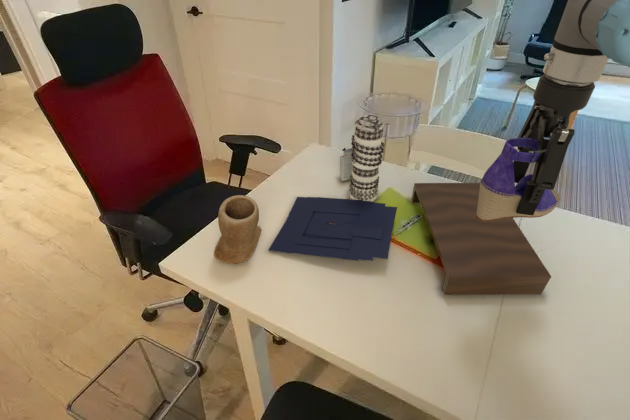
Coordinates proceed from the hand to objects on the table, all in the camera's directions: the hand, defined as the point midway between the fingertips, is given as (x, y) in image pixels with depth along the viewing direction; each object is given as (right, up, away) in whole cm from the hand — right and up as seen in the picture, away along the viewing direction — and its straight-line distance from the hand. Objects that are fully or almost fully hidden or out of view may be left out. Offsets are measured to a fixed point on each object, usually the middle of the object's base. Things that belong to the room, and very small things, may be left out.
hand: (518, 196), depth 70 cm
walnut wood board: (+1, -11, +28) cm, 30 cm away
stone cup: (-58, -12, +26) cm, 64 cm away
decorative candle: (-24, +2, +44) cm, 50 cm away
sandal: (0, -2, +1) cm, 3 cm away
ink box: (-25, +9, +52) cm, 59 cm away
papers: (-33, -9, +31) cm, 46 cm away
